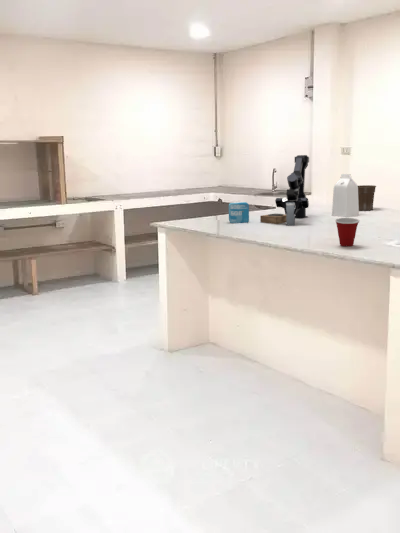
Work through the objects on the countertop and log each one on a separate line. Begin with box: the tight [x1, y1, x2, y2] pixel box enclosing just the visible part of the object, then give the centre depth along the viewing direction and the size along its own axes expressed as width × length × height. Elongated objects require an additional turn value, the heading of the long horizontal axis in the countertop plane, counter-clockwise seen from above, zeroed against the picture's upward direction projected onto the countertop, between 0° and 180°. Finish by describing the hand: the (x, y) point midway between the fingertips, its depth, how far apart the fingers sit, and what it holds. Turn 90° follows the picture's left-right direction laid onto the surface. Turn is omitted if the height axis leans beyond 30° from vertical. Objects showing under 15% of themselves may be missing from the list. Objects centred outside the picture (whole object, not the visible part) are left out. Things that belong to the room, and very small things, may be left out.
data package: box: [228, 201, 250, 224], centre depth 346 cm, size 12×4×12 cm, turn 92°
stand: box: [259, 213, 286, 225], centre depth 343 cm, size 13×13×4 cm
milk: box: [331, 173, 360, 218], centre depth 357 cm, size 12×12×26 cm
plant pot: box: [357, 184, 377, 212], centre depth 382 cm, size 16×16×16 cm
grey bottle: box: [286, 202, 296, 227], centre depth 327 cm, size 5×5×13 cm
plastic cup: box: [334, 217, 360, 247], centre depth 258 cm, size 11×11×12 cm
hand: (290, 214), depth 326 cm, fingers closed on grey bottle, 5 cm apart
